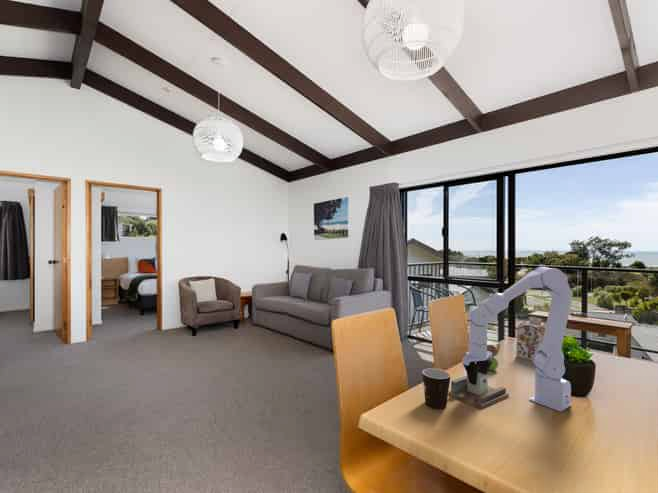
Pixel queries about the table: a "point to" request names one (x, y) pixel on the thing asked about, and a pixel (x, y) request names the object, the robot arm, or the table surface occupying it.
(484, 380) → the cabinet block
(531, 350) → the decorative jar
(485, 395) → the cleat board
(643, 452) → the table surface
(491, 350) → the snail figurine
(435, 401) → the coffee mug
